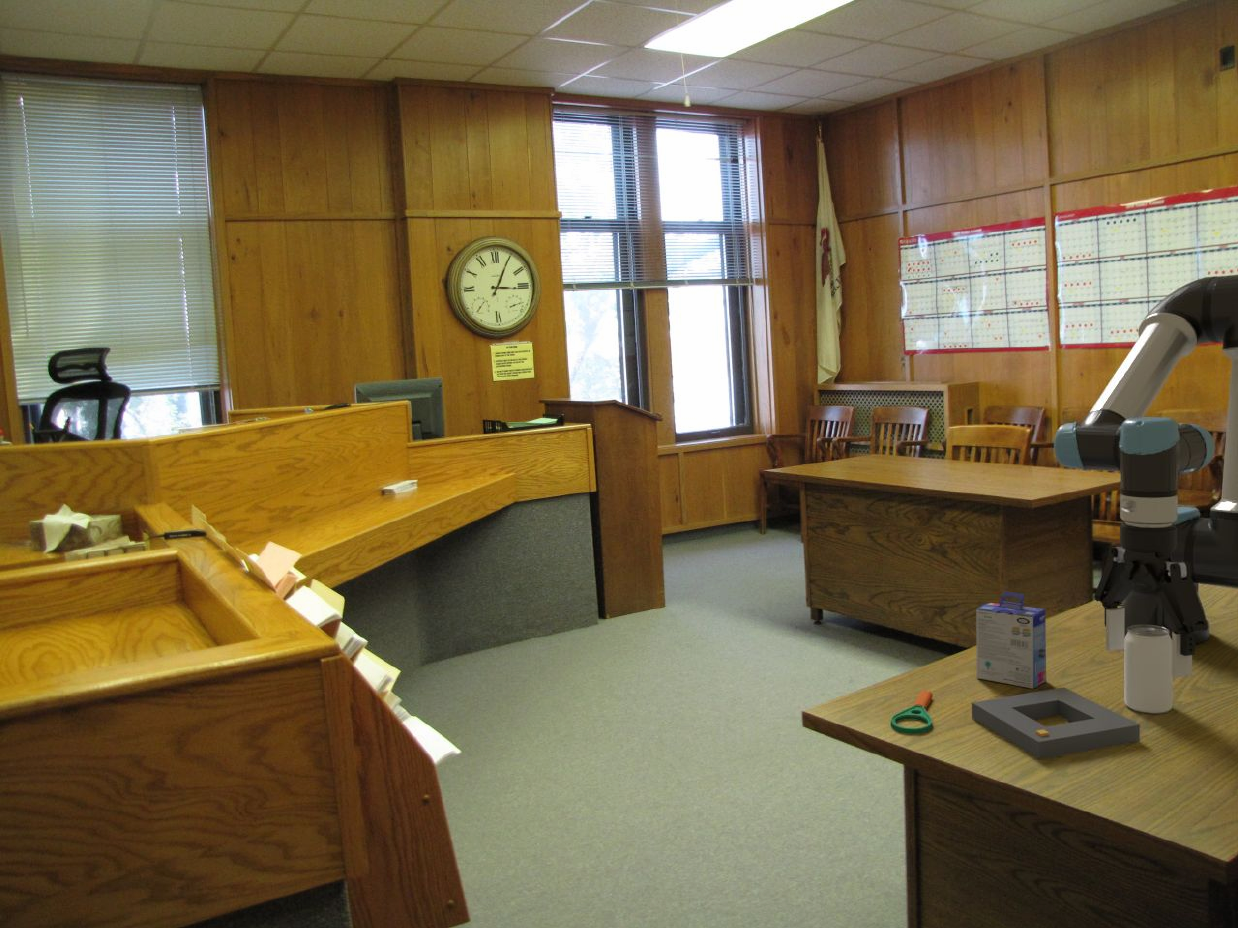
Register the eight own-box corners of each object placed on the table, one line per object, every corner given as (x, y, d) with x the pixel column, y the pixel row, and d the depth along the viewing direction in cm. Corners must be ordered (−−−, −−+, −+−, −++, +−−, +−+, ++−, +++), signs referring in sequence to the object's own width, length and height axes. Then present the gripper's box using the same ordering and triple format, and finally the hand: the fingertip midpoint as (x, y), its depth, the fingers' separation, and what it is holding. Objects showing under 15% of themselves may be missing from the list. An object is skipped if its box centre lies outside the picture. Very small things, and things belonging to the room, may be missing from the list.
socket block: (1064, 702, 157) (1064, 684, 157) (1139, 741, 142) (1139, 721, 141) (972, 718, 153) (971, 699, 153) (1038, 759, 138) (1038, 739, 138)
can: (1168, 700, 155) (1168, 624, 154) (1176, 716, 149) (1176, 637, 148) (1121, 697, 158) (1121, 622, 156) (1127, 713, 151) (1127, 635, 150)
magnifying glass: (927, 738, 148) (927, 727, 148) (886, 733, 151) (885, 722, 151) (946, 702, 161) (946, 692, 161) (907, 698, 164) (907, 688, 164)
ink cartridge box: (1048, 680, 167) (1047, 594, 165) (1035, 690, 163) (1033, 602, 161) (989, 669, 174) (988, 587, 172) (975, 679, 170) (973, 594, 168)
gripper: (1070, 512, 161) (1070, 642, 163) (1192, 539, 137) (1190, 691, 139) (1111, 508, 163) (1110, 637, 165) (1238, 534, 139) (1236, 684, 141)
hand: (1147, 662), depth 152 cm, fingers open, 13 cm apart
